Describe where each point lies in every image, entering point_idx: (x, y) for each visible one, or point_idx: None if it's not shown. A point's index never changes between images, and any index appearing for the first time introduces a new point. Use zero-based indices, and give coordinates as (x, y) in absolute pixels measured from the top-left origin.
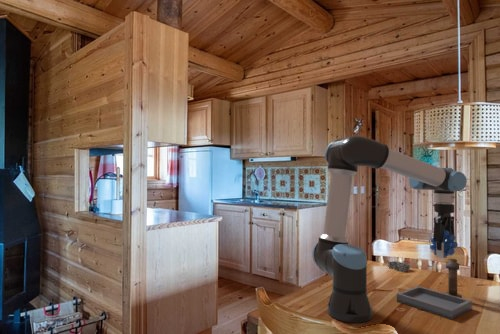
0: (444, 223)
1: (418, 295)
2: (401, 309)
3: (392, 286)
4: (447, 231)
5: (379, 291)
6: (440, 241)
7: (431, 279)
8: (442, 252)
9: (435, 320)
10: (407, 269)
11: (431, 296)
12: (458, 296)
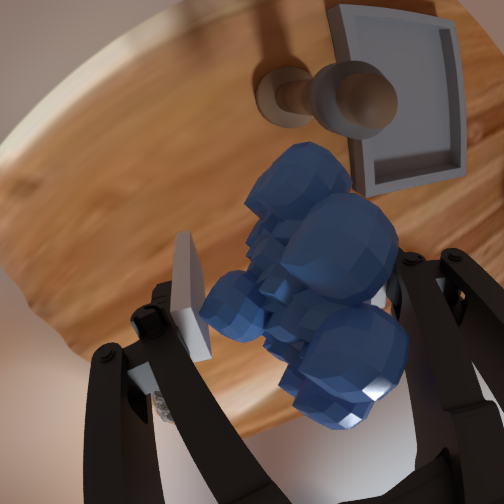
0: (498, 454)
1: (394, 159)
2: (475, 129)
3: None
4: (397, 356)
5: (423, 244)
6: (421, 264)
7: None
8: None
9: (465, 48)
10: None
11: None
12: (291, 73)
